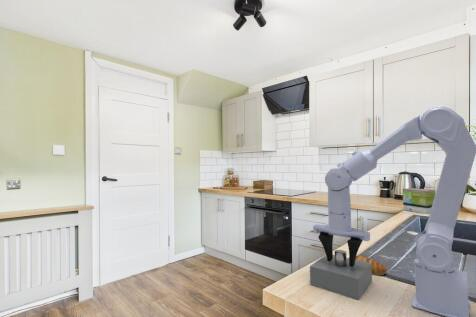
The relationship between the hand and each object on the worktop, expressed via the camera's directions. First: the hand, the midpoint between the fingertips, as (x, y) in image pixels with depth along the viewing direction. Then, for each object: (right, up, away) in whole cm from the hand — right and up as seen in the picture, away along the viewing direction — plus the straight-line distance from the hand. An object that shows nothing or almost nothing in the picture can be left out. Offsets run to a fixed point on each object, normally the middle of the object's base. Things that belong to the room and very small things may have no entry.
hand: (340, 262), depth 68 cm
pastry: (+11, -6, +8) cm, 15 cm away
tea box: (+91, -7, +96) cm, 132 cm away
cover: (0, -5, 0) cm, 5 cm away
